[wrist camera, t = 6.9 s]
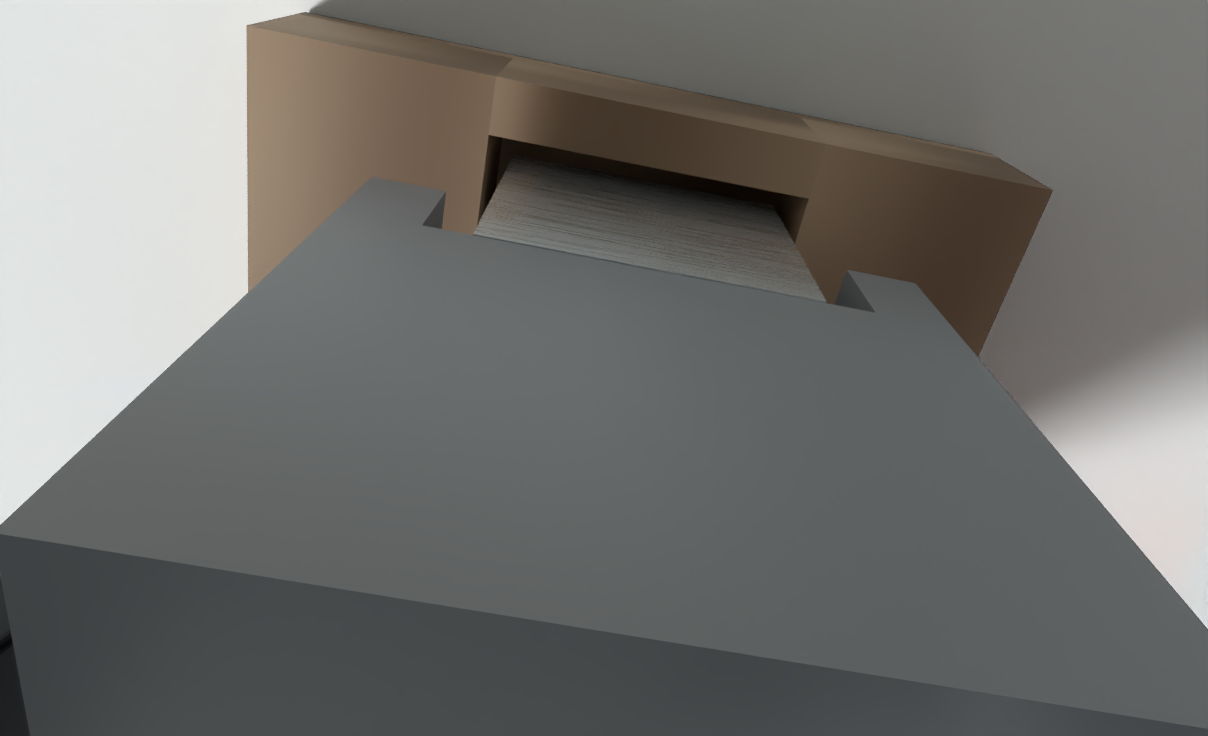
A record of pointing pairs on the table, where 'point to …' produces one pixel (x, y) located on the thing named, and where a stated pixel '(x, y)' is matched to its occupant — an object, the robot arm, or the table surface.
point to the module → (579, 519)
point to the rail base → (615, 157)
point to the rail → (646, 226)
